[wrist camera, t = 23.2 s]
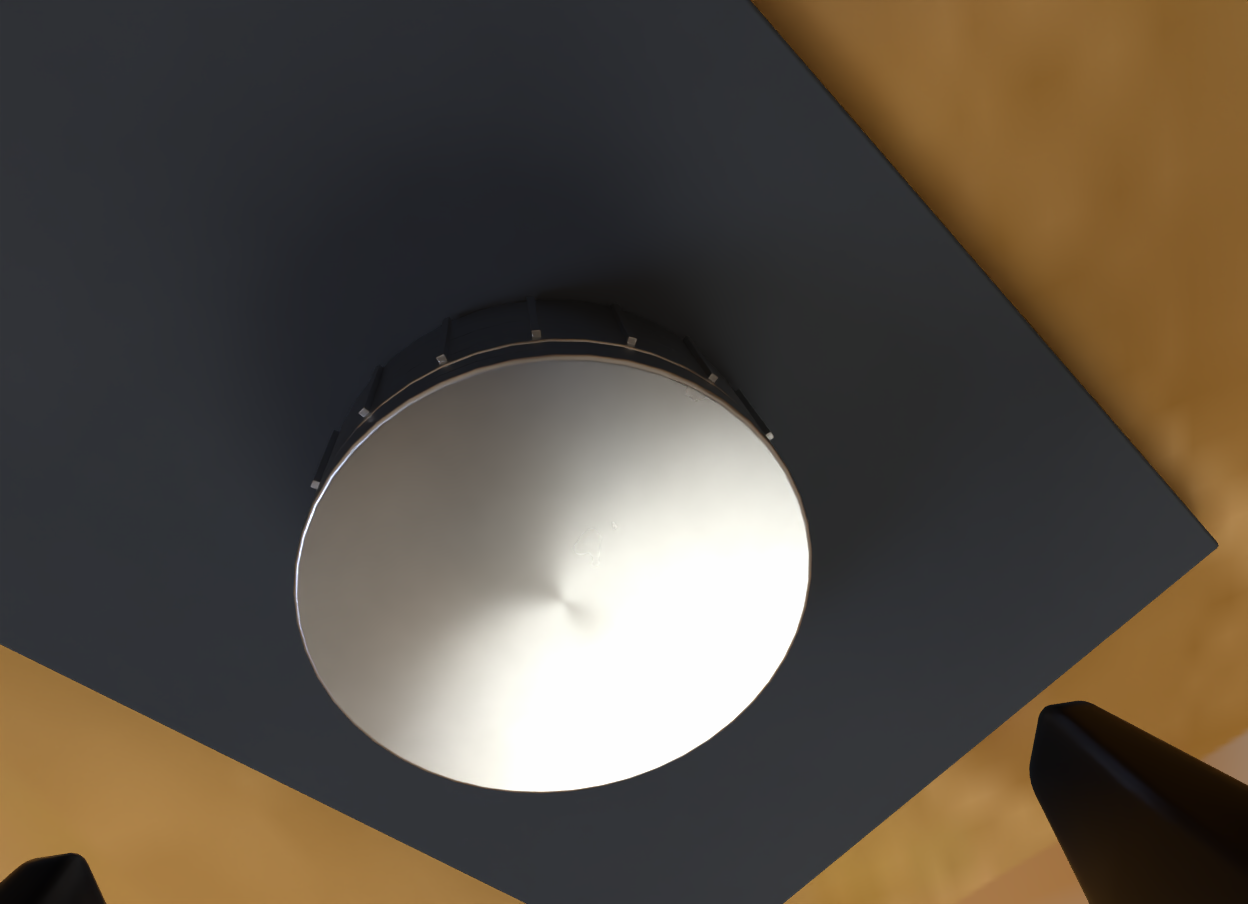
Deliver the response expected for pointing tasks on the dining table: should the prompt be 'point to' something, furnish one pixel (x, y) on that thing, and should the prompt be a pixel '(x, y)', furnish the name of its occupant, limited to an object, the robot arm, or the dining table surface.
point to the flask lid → (549, 551)
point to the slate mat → (507, 273)
